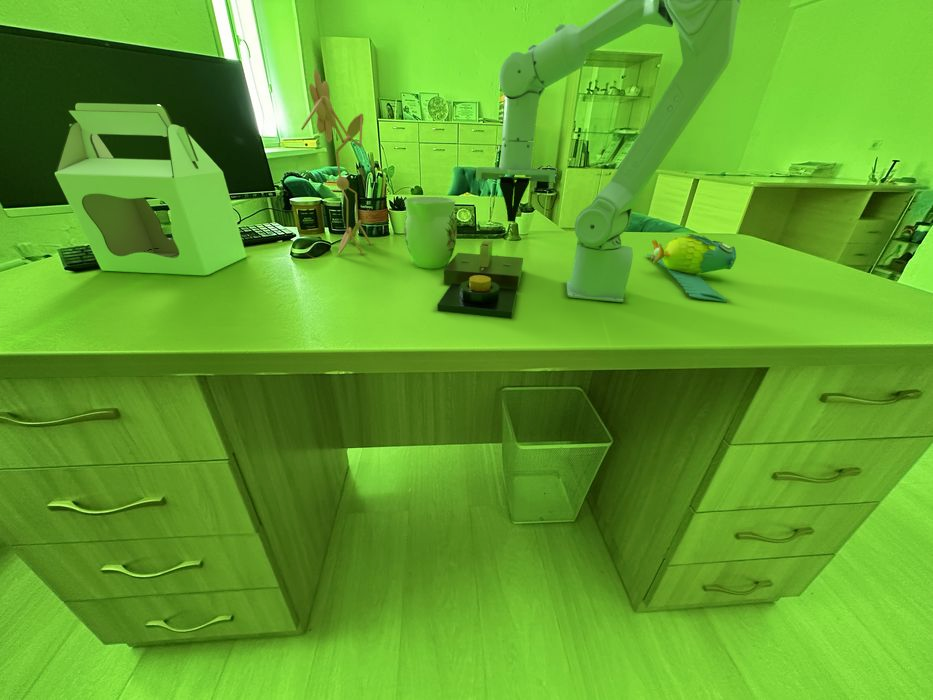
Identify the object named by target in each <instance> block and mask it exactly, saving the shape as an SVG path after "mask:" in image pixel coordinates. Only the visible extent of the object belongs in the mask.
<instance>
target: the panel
mask: <svg viewBox="0 0 933 700" xmlns="http://www.w3.org/2000/svg"><path fill="white" fill-rule="evenodd" d="M523 266H524V257H520V256H519V257H517V256H507V255H506V256H504V255H494V254H492V260H491V262H490V264H489V266H488V267H480V253H465V252H457V253H456V254H455V256H454V257H453V258H451V259H450V261H449V262H448V263H447V264H446V266H445V267H444V269H443V285H444V286H450V285H451V284H462V283H463V282H466V281H469V278H470V277H471V276H475V275H484V276H488V277H490V278H491V282H494V283H496V284H497V285H499V286H500V288H506V289H517V292H518V291H519V286H520V283H521V277H522V274H523Z"/></svg>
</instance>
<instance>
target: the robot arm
mask: <svg viewBox="0 0 933 700" xmlns="http://www.w3.org/2000/svg"><path fill="white" fill-rule="evenodd" d="M741 4H742V3H741V0H617V1H616V2H615V3H613V4H612V5H610V6H609V7H608V8H606V9H605V10H603V11H602V12H600V13H598V14H597V15H596V16H595V17H593V18H592V19H591V20H589V21H588V22H586V23H585V24H584V25H582V26H580V27H579V26H578V25H576V24H573V23H569V24H567V25H566V24H563V23H561V24H559V25H558V26H556V27H555V28H554V33H553V34H552V35H550V36H549V37H547V38H545V39H544V40H543V41H541V42H540V43H538V44H537V45H536V44H531V45H530V46H529V47H527V52H526V53H523V52H521V51H514V52H511V53H510V54H509V56H508V57H507V58H505V60H504V61H503V62H502V65H501V67H500V69H499V75H498V84H499V87H500V90H501V92H502V93H503V94H504V99H503V100H504V101H503V102H504V103H503V118H502V120H503V121H502V132H501V134H502V135H501V150H500V151H501V152H500V165H499V166H500V167H498V166H497V167H495V166H477V167H475V179H476V180H482V179H483V180H499V183H498V184H499V189H500V190H501V193H502V196H503V201H504V203H505V209H506V215H507V222H511V223H515V222H516V220H517V219H516V218H517V213H518V211H519V208H520V204H521V201H522V199H523V197H524V195H525V192H526V191H527V189H528V187H529V185H530V182H544V183H545V182H546V183H547V182H548V183H555V181H556V173H557V170H556V169H544V168H533V167H532V166H533V158H534V157H533V156H534V148H535V147H534V146H535V138H536V137H535V136H536V126H537V118H538V117H537V116H538V108H539V102H540V98H541V95H543V93H544V91H545V90H546V88H548V87H550V86H551V85H553V84H555V83H557V82H559V81H560V80H563V79H564V78H566V77H568V76H570V75H571V74H573V73H574V72H576V71H578V70H580V69H581V68H583V66H584V65H585V62H586V60H587V58H588V57H589V54H590V53H592V52H594V51H596V50H598V49H599V48H602V47H603V46H605V45H608V44H609V43H611V42H614V41H615V40H617V39H620V38H621V37H623V36H625V35H627V34H629V33H631V32H632V31H634V30H636V29H638V28H640V27H642V26H644V25H654V26H659V27H666V28H673V26H675V27H676V29H677V32H678V37H679V38H678V39H679V46H680V50H681V51H680V52H681V57H682V63H681V65H680V67H679V68H678V70H677V71H676V73H675V75H673V76H674V77H673V78H672V79H671V81H670V83H669V84H668V86H667V88H666V89H665V90H664V93H663V95H662V96H661V98H660V99H659V100H658V103H657V104H656V105H655V107H654V109H653V110H652V112H651V114H650V115H649V117H648V118H647V120H646V122H645V123H644V125H643V127H642V129H641V130H640V132H639V133H638V135H637V136H636V138H635V140H634V141H633V143H632V144H631V147H630V148H629V149H628V152H627V153H626V154H625V156H624V157H623V159H622V161H621V163H620V165H619V166H618V168H617V169H616V171H615V173H614V174H613V175H612V177H611V179H610V181H608V183H607V184H606V185H605V186H604V187H603V188H602V189H601V191H599V192H598V193H597V195H596V196H595V198H594V199H593V201H592V202H591V203H590V204H589V205H588V206H586V207H585V208H584V209H582V210H581V211H580V212H579V213H578V214H577V216H576V217H575V218H576V219H575V222H574V233H575V236H576V238H577V243H576V248H575V254H574V260H573V266H572V272H571V276H570V277H571V278H570V280H567V281H566V293H567V297H568V298H570V299H582V300H593V301H602V302H603V301H604V302H614V303H624V300H625V299H624V296H625V294H626V293H625V292H626V289H627V285H628V280H629V278H630V272H631V269H632V264H633V257H634V253H633V248H632V247H631V246H627V245H622V239H621V235H622V234H623V233H624V232H626V230H627V229H628V228H629V225H630V222H631V216H632V213H633V211H634V210H635V208H636V206H637V204H638V202H639V198H640V195H641V193H642V192H643V190H644V189H645V187H646V186H647V185H648V184H649V182H650V180H651V179H652V178H653V176H654V174H655V172H657V170H658V169H659V167H660V165H661V164H662V163H663V161H664V160H665V158H666V157H667V155H668V154H669V153H670V152H671V149H672V148H673V146H674V145H675V144H676V142H677V141H678V139H679V138H680V136H681V135H682V133H683V132H684V130H685V129H686V127H687V126H688V124H689V123H690V122H691V120H692V119H693V117H694V116H695V115H696V113H697V111H698V110H699V109H700V107H701V105H703V103H704V102H705V100H706V98H707V97H708V96H709V94H710V93H711V91H712V90H713V88H714V87H715V85H716V84H717V83H718V81H719V79H720V78H721V77H722V75H723V73H724V72H725V70H726V69H727V67H728V66H729V63H730V62H731V59H732V54H733V50H734V41H735V35H736V28H737V22H738V21H737V20H738V14H739V11H740V6H741ZM506 175H507V176H506ZM522 176H524V177H522Z"/></svg>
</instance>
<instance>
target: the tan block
mask: <svg viewBox="0 0 933 700" xmlns="http://www.w3.org/2000/svg"><path fill="white" fill-rule="evenodd" d="M493 244H494V239H489V238H484V240H483V241H482V243H481V244H480V248H479V254H480V267H488V266H489V264H490V262H491V260H492V255H493V246H494V245H493Z"/></svg>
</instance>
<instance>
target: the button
mask: <svg viewBox="0 0 933 700" xmlns="http://www.w3.org/2000/svg"><path fill="white" fill-rule="evenodd" d="M469 289H471V290H475V291H487V290H490V289H491V278H490V277H488V276H484V275H475V276H471V277H470V278H469Z"/></svg>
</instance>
